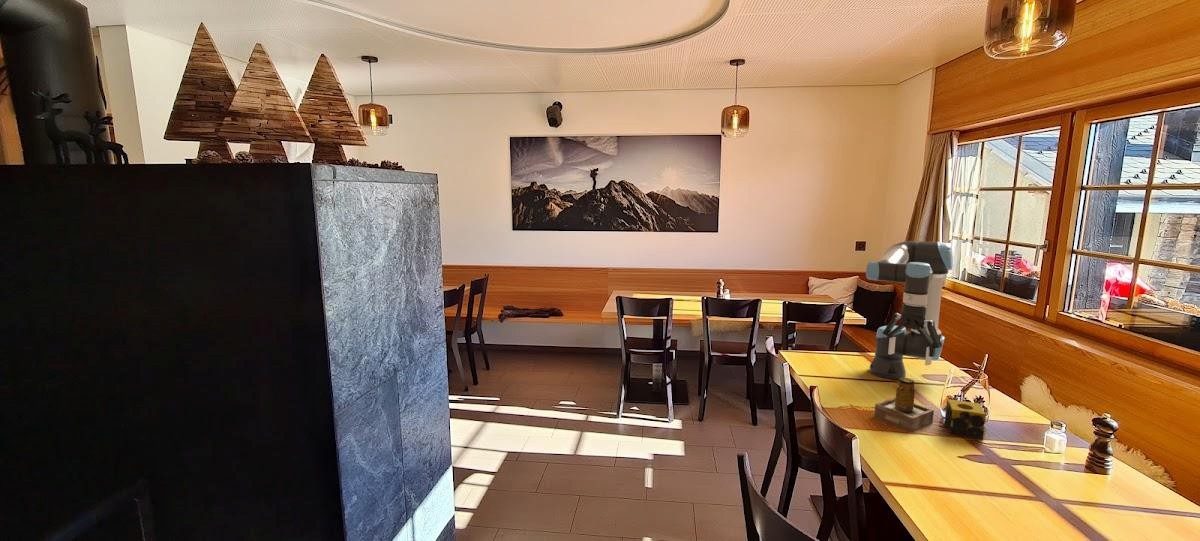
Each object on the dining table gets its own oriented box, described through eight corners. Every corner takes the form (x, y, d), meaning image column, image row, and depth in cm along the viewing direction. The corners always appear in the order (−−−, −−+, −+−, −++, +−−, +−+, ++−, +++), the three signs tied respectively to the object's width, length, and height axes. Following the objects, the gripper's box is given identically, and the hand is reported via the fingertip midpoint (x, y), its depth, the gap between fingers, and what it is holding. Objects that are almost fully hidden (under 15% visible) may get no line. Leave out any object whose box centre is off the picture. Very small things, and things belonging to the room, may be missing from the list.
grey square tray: (895, 408, 198) (896, 396, 197) (932, 423, 186) (933, 410, 185) (873, 416, 191) (875, 404, 191) (910, 431, 179) (912, 418, 178)
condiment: (897, 404, 193) (900, 375, 191) (922, 411, 186) (925, 381, 184) (890, 409, 188) (893, 379, 186) (914, 417, 182) (918, 386, 180)
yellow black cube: (976, 428, 182) (979, 403, 180) (984, 440, 173) (987, 414, 171) (943, 423, 186) (946, 398, 185) (949, 435, 177) (952, 409, 176)
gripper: (875, 298, 190) (871, 351, 194) (945, 312, 169) (939, 371, 172) (887, 296, 194) (882, 348, 197) (957, 310, 172) (950, 367, 176)
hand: (909, 359), depth 185 cm, fingers open, 13 cm apart
